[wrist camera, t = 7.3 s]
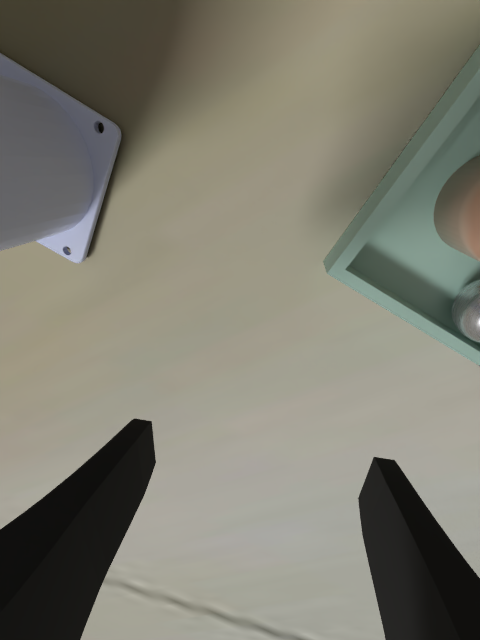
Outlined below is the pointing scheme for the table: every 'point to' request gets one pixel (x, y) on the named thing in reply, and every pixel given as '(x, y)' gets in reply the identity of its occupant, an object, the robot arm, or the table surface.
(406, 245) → the tray
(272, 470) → the table surface
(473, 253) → the shaker
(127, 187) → the table surface
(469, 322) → the ball
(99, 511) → the robot arm
